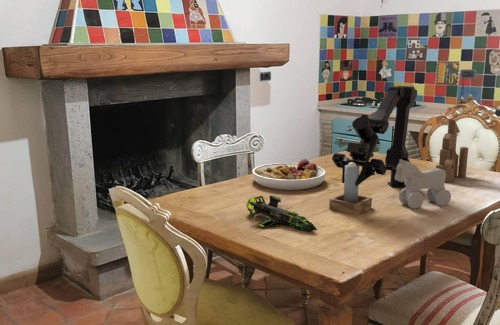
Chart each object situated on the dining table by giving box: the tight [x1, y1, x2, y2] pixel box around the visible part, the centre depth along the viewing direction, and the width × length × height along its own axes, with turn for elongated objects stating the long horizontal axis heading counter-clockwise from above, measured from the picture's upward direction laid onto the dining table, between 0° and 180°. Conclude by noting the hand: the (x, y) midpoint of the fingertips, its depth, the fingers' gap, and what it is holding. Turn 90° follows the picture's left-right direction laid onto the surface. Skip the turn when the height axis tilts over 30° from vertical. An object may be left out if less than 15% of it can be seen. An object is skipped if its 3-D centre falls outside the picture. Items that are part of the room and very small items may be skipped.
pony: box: [395, 159, 452, 210], centre depth 176 cm, size 20×10×17 cm, turn 105°
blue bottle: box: [343, 162, 360, 203], centre depth 173 cm, size 5×5×14 cm
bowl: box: [252, 158, 326, 191], centre depth 209 cm, size 30×30×8 cm
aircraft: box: [246, 195, 318, 232], centre depth 160 cm, size 17×28×6 cm, turn 45°
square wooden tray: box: [328, 192, 373, 216], centre depth 174 cm, size 10×10×4 cm
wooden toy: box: [435, 118, 469, 184], centre depth 211 cm, size 16×7×25 cm, turn 133°
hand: (349, 183), depth 172 cm, fingers closed on blue bottle, 5 cm apart
